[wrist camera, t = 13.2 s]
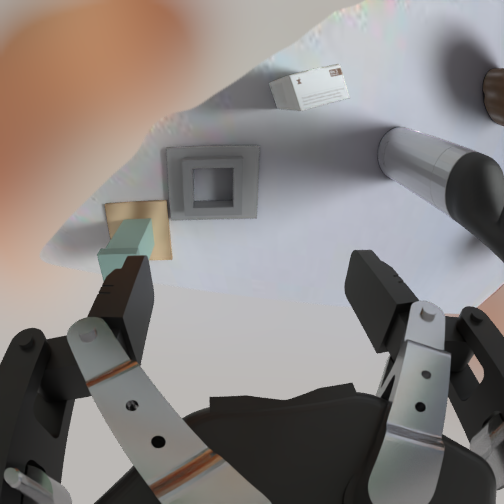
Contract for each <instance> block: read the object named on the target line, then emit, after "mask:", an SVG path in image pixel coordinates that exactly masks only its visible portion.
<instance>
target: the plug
mask: <svg viewBox="0 0 504 504" xmlns="http://www.w3.org/2000/svg"><path fill="white" fill-rule="evenodd" d="M154 245H155V244H154V236H153V228H152V219H151V218H147V219H125V220H123V222H122V223H121V225H120V226H119V228H118V229H117V231H116V233H115V234H114V236H113V237H112V239H111V240H110V242H109V244H108V245H107V247H106V248H105V249H100V251H99V253H98V254H97V256H98V261H99V265H100V269H101V273H102V276H103V280H105V278H106V276H108V275H109V274H110V273H111V272H112V271H113V270H114V269H121V268H122V266H123V264H124V262H125V260H126V258H127V256H133V255H147V257H148V260H149V259H150V256H151V253H152V250H153V247H154Z"/></svg>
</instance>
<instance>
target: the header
mask: <svg viewBox="0 0 504 504" xmlns="http://www.w3.org/2000/svg"><path fill="white" fill-rule="evenodd" d="M166 151H167V171H168V188H169V202H170V214H171V220H203V219H253V218H257V199H258V173H259V146H239V145H235V146H189V147H169V148H167V149H166ZM201 168H233V200H217V201H194V179H193V169H201Z"/></svg>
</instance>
